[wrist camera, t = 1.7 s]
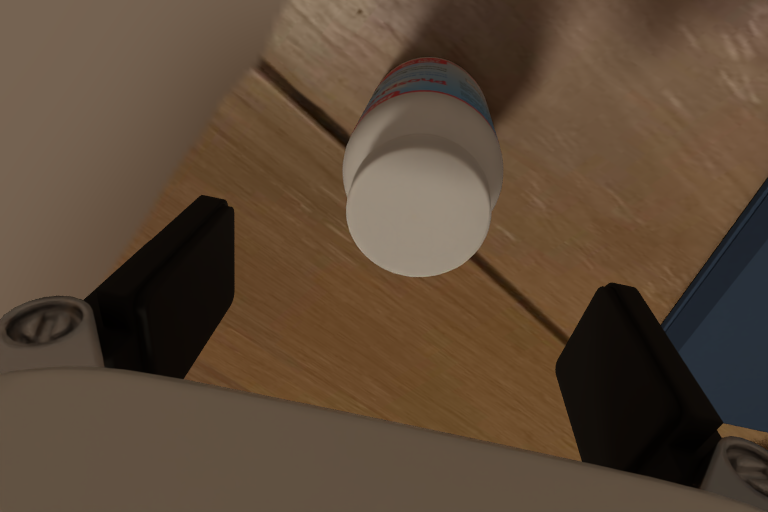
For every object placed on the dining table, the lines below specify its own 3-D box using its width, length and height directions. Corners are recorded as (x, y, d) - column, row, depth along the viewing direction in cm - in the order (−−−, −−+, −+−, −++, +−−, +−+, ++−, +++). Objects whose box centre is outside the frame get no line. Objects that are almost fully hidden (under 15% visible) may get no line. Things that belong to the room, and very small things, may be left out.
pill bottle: (432, 26, 21) (425, 71, 11) (510, 121, 23) (558, 226, 13) (346, 114, 23) (283, 210, 14) (422, 192, 25) (412, 321, 16)
